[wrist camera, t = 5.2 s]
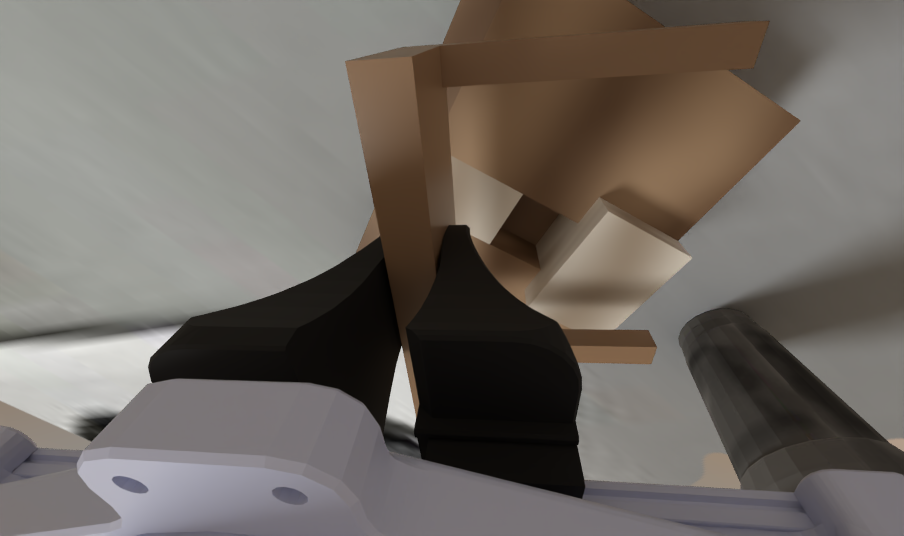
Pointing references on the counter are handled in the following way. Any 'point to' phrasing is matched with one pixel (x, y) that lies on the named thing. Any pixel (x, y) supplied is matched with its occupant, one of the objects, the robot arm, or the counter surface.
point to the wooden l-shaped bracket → (429, 153)
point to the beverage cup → (775, 407)
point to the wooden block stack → (592, 164)
